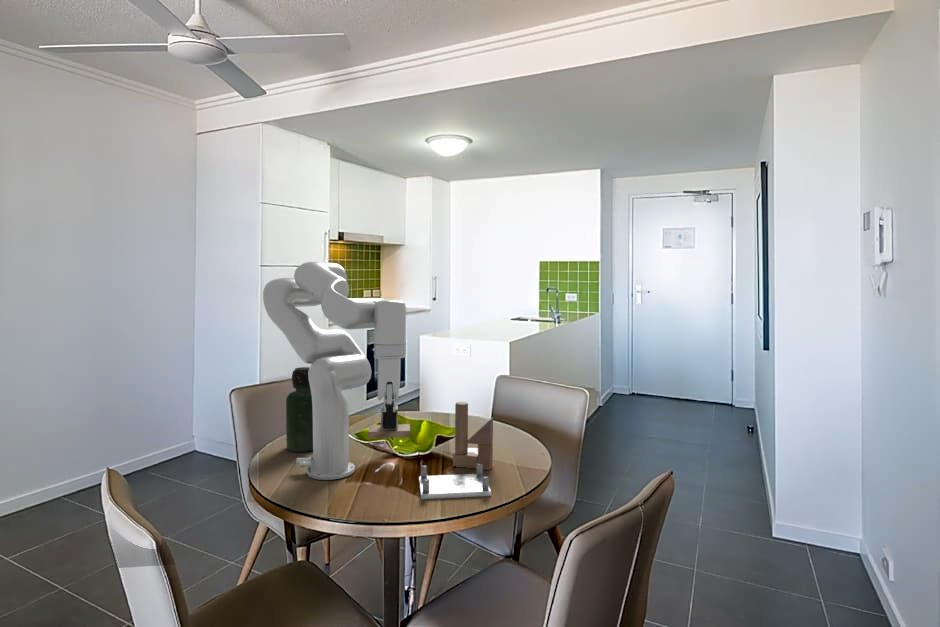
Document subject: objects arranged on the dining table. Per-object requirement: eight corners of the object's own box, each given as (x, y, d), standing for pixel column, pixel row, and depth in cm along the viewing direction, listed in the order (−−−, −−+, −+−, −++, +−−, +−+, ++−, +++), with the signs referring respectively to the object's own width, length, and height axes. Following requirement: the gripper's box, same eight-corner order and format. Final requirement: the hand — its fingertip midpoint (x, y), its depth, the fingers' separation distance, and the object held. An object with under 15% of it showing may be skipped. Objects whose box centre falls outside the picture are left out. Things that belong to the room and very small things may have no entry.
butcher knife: (459, 467, 150) (459, 463, 150) (462, 450, 165) (462, 447, 165) (477, 467, 150) (477, 463, 150) (479, 450, 165) (479, 447, 165)
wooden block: (489, 470, 146) (490, 406, 145) (452, 467, 149) (453, 403, 148) (492, 466, 150) (493, 403, 149) (456, 462, 153) (456, 401, 152)
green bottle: (321, 441, 172) (321, 365, 170) (321, 451, 162) (320, 370, 160) (288, 444, 169) (287, 366, 168) (285, 454, 159) (284, 371, 158)
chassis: (421, 499, 126) (421, 482, 126) (419, 480, 138) (419, 464, 138) (491, 495, 129) (491, 479, 129) (483, 477, 141) (483, 462, 140)
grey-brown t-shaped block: (367, 438, 125) (367, 411, 125) (369, 431, 131) (369, 405, 131) (410, 437, 126) (410, 410, 126) (409, 430, 132) (409, 404, 132)
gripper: (375, 346, 135) (375, 417, 136) (372, 355, 119) (372, 436, 120) (405, 346, 136) (404, 416, 137) (406, 355, 120) (405, 435, 121)
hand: (389, 424), depth 129 cm, fingers closed on grey-brown t-shaped block, 4 cm apart
